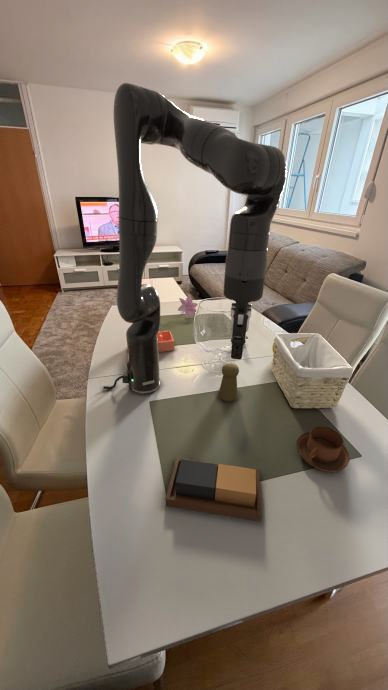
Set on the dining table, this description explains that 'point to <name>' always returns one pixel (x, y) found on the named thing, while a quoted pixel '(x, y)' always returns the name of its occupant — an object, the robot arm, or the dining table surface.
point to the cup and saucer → (323, 449)
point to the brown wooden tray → (214, 506)
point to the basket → (309, 370)
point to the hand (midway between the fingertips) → (236, 348)
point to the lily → (187, 306)
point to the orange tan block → (236, 485)
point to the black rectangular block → (196, 479)
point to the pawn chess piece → (229, 382)
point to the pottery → (165, 341)
